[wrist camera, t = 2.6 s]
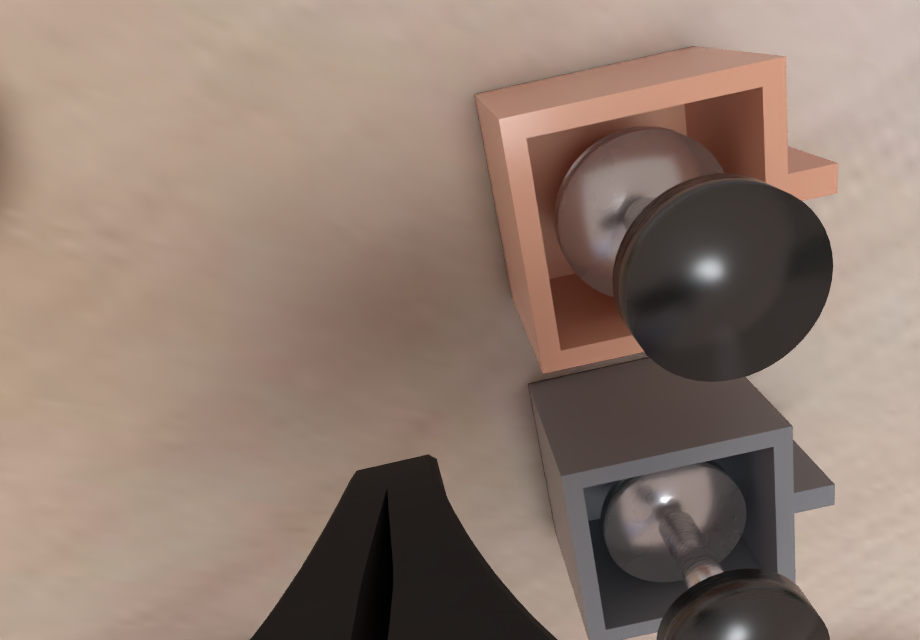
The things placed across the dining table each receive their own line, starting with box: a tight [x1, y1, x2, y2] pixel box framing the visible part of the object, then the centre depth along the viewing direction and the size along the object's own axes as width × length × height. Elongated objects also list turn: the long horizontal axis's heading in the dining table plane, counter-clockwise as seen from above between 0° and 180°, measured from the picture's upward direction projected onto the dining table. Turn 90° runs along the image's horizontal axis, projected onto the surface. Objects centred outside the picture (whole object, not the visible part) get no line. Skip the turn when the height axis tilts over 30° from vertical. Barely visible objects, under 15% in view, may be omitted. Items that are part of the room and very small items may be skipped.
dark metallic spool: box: [554, 126, 833, 382], centre depth 15 cm, size 4×4×5 cm
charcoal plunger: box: [600, 460, 830, 640], centre depth 18 cm, size 4×4×5 cm
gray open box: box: [528, 358, 835, 640], centre depth 22 cm, size 6×8×5 cm
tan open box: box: [474, 46, 838, 374], centre depth 18 cm, size 6×7×5 cm
